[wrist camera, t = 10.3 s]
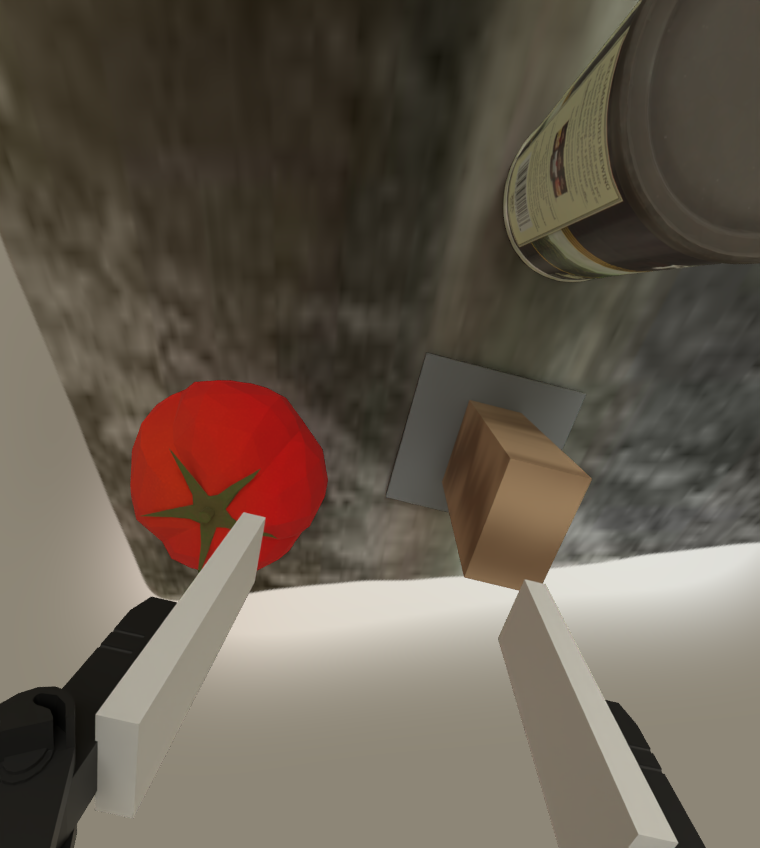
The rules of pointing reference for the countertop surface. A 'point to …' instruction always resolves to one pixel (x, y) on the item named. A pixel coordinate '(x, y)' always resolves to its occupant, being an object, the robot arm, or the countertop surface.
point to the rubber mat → (443, 414)
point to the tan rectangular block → (509, 496)
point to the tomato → (225, 470)
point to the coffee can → (648, 150)
